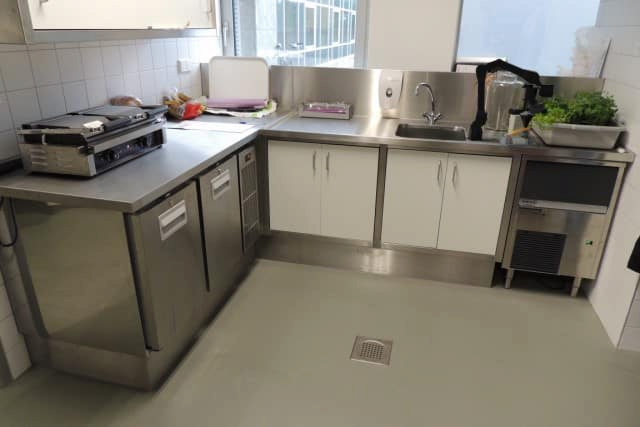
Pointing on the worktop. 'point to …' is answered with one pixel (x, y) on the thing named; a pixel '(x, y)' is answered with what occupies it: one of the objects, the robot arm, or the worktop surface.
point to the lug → (530, 139)
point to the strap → (517, 131)
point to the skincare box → (515, 124)
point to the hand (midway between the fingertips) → (525, 127)
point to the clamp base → (514, 141)
